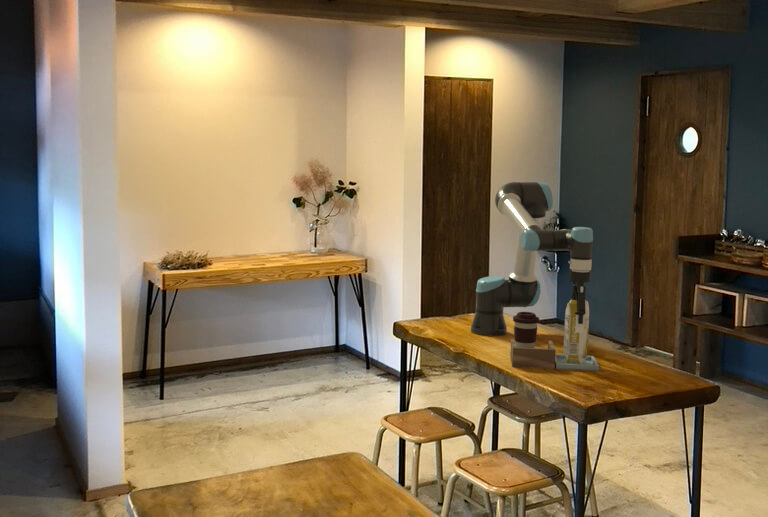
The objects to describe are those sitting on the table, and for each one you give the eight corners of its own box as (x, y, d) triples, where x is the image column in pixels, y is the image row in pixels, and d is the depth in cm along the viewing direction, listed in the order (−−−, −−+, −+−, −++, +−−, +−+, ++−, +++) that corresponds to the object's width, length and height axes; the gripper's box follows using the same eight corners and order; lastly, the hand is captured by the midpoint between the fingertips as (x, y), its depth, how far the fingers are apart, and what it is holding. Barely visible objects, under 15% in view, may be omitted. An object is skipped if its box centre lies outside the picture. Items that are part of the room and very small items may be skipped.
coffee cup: (537, 355, 326) (539, 316, 324) (510, 353, 328) (512, 315, 326) (537, 349, 336) (539, 311, 334) (512, 347, 338) (514, 310, 336)
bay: (510, 356, 323) (511, 338, 322) (550, 358, 322) (551, 340, 321) (512, 367, 309) (513, 348, 308) (554, 369, 308) (555, 349, 307)
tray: (552, 359, 321) (552, 354, 321) (593, 361, 320) (593, 355, 319) (556, 369, 307) (556, 363, 307) (598, 371, 306) (599, 365, 306)
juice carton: (584, 367, 308) (587, 301, 305) (561, 365, 311) (565, 299, 307) (587, 361, 317) (590, 297, 313) (565, 359, 319) (568, 295, 316)
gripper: (565, 265, 321) (562, 320, 324) (573, 275, 297) (570, 335, 300) (585, 265, 321) (582, 321, 324) (596, 276, 296) (592, 336, 299)
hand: (576, 328), depth 312 cm, fingers open, 13 cm apart
